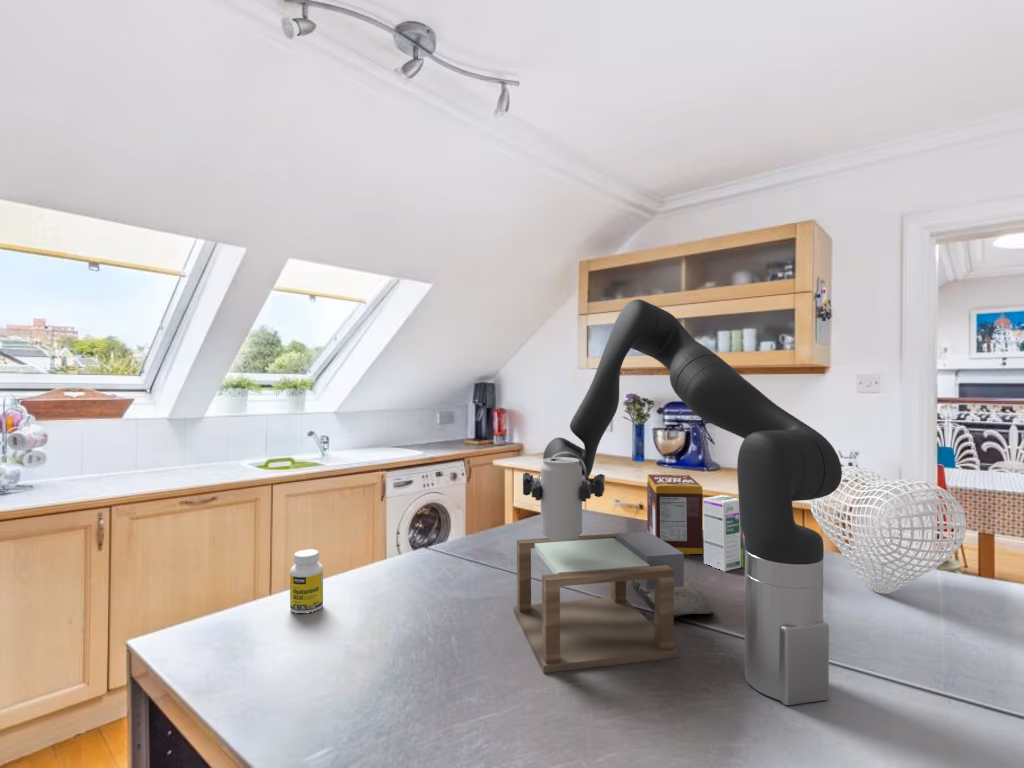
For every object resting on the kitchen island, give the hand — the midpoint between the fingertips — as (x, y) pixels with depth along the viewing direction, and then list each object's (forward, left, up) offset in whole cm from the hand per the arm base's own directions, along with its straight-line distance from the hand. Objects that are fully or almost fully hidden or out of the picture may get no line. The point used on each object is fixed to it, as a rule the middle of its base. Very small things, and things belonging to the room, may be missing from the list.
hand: (560, 494), depth 84 cm
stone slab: (+17, -25, -23) cm, 38 cm away
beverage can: (+2, -1, -7) cm, 8 cm away
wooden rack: (+2, -5, -23) cm, 23 cm away
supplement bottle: (+21, +40, -23) cm, 51 cm away
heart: (+6, -63, -23) cm, 67 cm away
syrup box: (+25, -43, -23) cm, 55 cm away
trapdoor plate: (+2, -8, -14) cm, 17 cm away
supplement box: (+41, -40, -23) cm, 62 cm away
